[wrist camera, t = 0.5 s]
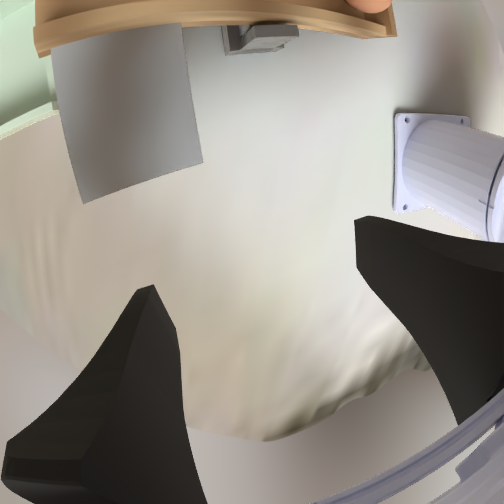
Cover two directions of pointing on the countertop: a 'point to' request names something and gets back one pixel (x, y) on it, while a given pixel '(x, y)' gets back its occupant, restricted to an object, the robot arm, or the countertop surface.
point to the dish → (23, 71)
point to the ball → (369, 5)
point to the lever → (152, 75)
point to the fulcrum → (256, 38)
